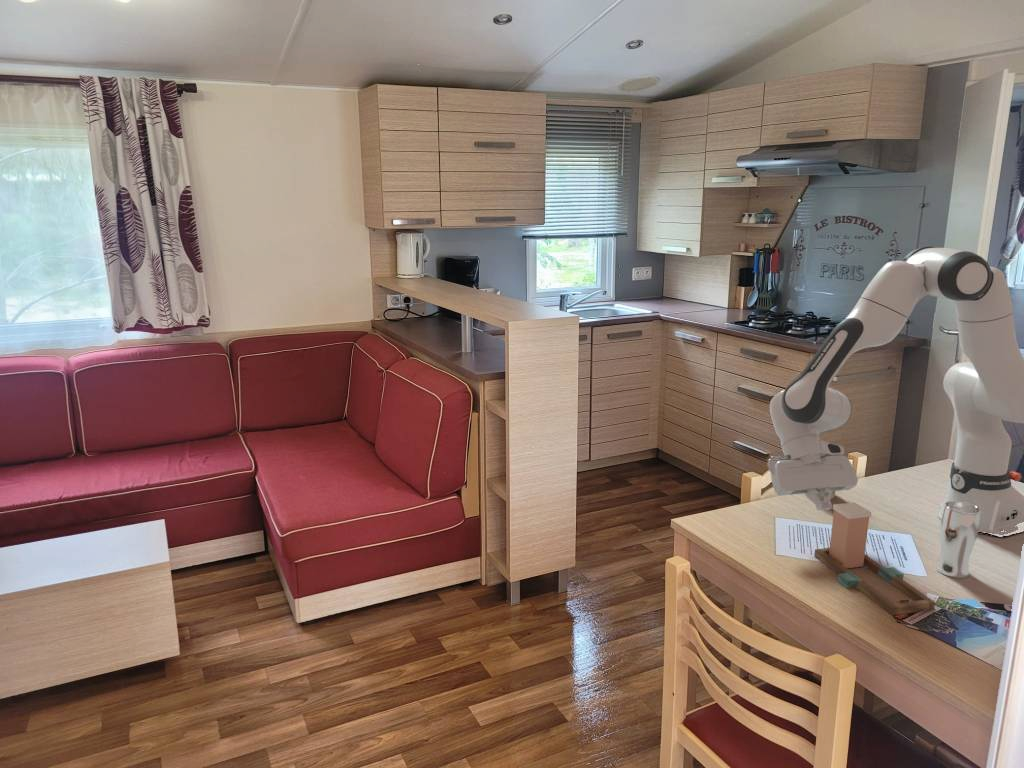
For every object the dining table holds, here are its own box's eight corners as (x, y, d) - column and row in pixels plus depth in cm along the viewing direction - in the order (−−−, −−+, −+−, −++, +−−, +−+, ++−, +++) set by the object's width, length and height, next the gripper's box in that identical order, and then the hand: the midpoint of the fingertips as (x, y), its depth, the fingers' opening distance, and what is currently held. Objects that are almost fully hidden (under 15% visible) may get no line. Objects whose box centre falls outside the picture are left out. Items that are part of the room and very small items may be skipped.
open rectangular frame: (858, 550, 170) (859, 544, 170) (942, 608, 147) (943, 600, 146) (806, 556, 168) (807, 550, 167) (883, 616, 144) (884, 609, 144)
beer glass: (970, 582, 156) (981, 516, 153) (932, 573, 160) (942, 509, 156) (971, 568, 162) (982, 504, 158) (934, 560, 166) (944, 497, 162)
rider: (848, 555, 168) (854, 502, 165) (864, 566, 163) (871, 512, 160) (827, 557, 167) (833, 504, 163) (842, 569, 162) (849, 514, 158)
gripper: (771, 451, 172) (791, 507, 165) (849, 445, 176) (871, 500, 170) (759, 462, 177) (777, 517, 170) (834, 457, 182) (856, 510, 175)
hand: (825, 509), depth 170 cm, fingers closed
